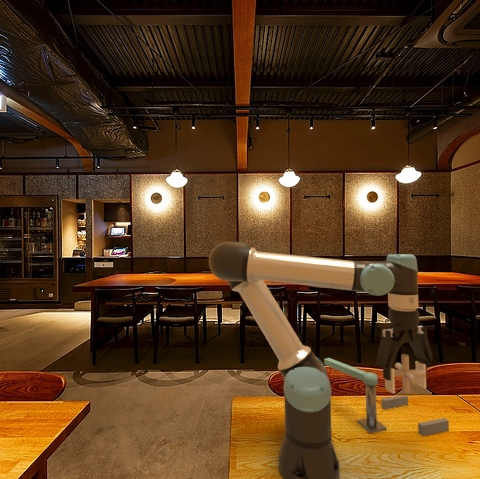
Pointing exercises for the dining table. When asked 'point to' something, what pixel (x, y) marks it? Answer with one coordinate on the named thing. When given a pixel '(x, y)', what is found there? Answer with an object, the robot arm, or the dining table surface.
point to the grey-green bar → (352, 371)
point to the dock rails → (423, 427)
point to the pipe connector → (407, 373)
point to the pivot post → (371, 412)
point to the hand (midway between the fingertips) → (405, 388)
